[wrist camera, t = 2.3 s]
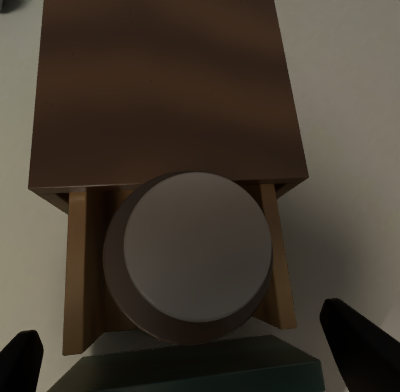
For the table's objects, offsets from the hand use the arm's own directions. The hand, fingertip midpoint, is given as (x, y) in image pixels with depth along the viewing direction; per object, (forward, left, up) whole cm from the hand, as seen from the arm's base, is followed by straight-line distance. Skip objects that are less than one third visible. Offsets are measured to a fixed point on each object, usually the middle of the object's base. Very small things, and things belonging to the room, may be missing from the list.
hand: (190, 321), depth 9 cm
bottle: (+2, -1, -8) cm, 8 cm away
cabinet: (+12, -4, -10) cm, 16 cm away
